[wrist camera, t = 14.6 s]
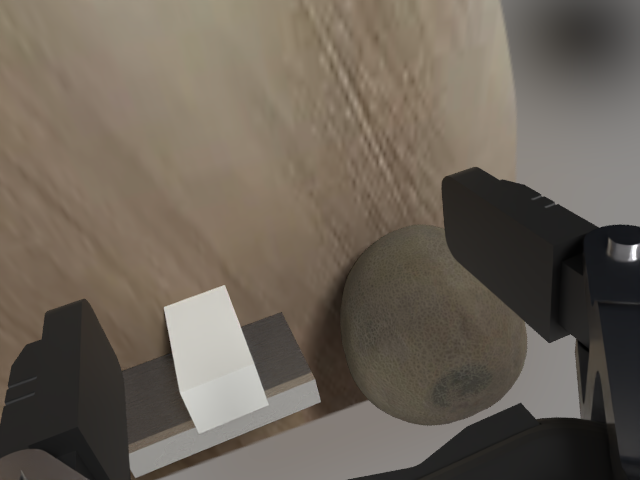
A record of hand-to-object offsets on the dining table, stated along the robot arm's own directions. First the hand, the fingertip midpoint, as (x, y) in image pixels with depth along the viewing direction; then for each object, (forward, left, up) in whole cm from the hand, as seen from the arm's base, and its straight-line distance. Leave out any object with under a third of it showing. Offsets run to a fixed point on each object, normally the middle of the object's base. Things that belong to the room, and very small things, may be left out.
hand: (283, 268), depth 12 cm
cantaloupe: (+13, -23, -28) cm, 39 cm away
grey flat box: (-4, -24, -28) cm, 37 cm away
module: (-3, -20, -28) cm, 35 cm away
